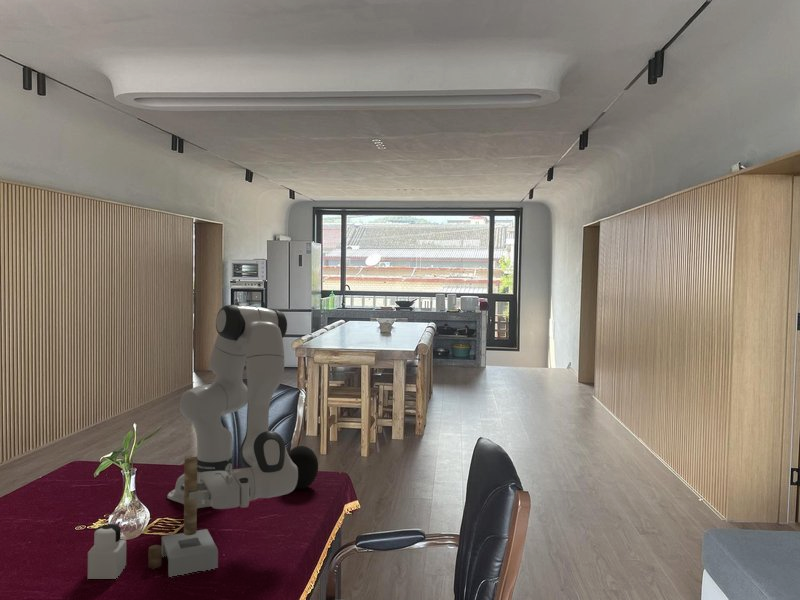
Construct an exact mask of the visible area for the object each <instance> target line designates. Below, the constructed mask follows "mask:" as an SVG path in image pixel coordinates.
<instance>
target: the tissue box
mask: <svg viewBox="0 0 800 600" xmlns="http://www.w3.org/2000/svg"><path fill="white" fill-rule="evenodd" d="M161 546H162V558H167V561H168V562H167V563H168V564H167V574H168V575H167V576H168V578H169V577H171V578H173V577H172V576H177V575H182V576H185V575H184V574H187V575H189V574H188V573H192V572H197V571H203V572H207V571H206V570H208V571H212V570H211V569H213V570H216V569H215V568H218V569H219V549H218V547H217V545H216V543H215V541H214V540H213V537H212V536H211V533H210V532H209V529H208V528H206V529H205V528H204V529H200V530H198V529H197V532H196V534H194V535H185V534H184V532H180V533H173V534H168V535H162V536H161ZM164 556H165V557H164ZM166 556H167V557H166ZM197 573H198V572H197ZM192 574H193V573H192ZM177 577H178V576H177Z"/></svg>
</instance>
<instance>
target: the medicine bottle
mask: <svg viewBox="0 0 800 600" xmlns="http://www.w3.org/2000/svg"><path fill="white" fill-rule="evenodd" d="M121 529H122V528H121V526H120V525H118V524H115V523H108V524H103V525H100V526H98V527H96V528H95V530H94V531H93V533H94V535H93V537H94V538H93V539H94V541H93V544H94V545H93V546H92V547H91V548H90V549H89V551H87V571H86V572H87V576H86V577H87V580H88V579H116V578H117V579H118V578H119V577H120V575H121V574H122V573H123V571H124V570H125V568H126V567H127V540H126V539H121ZM125 566H126V567H125ZM123 569H124V570H123ZM118 576H119V577H118ZM117 579H116V580H117Z"/></svg>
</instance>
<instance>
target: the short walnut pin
mask: <svg viewBox="0 0 800 600" xmlns="http://www.w3.org/2000/svg"><path fill="white" fill-rule="evenodd" d="M147 557H148V560H147V561H148V563H147V564H148V567H149V568H158V567H160V566H161V567H162V562H163V560H162V558H163V557H162V545H160V544H154V545H153V544H152V545H150V546H149V547H148V556H147ZM161 567H160V568H161ZM149 568H148V569H149ZM158 569H159V568H158Z"/></svg>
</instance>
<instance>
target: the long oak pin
mask: <svg viewBox="0 0 800 600" xmlns="http://www.w3.org/2000/svg"><path fill="white" fill-rule="evenodd" d="M183 466H184V467H183V468H184V473H183V474H184V504H183V533H184V534H185V535H194V534H196V532H197V531H198V529H197V527H198V526H197V522H198V520H197V517H198V515H197V514H198V513H197V512H198V508H197V499H189V497H188V492H189V491H194V490H195V491H197V456H188V457H187V456H186V457H184V465H183Z"/></svg>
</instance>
